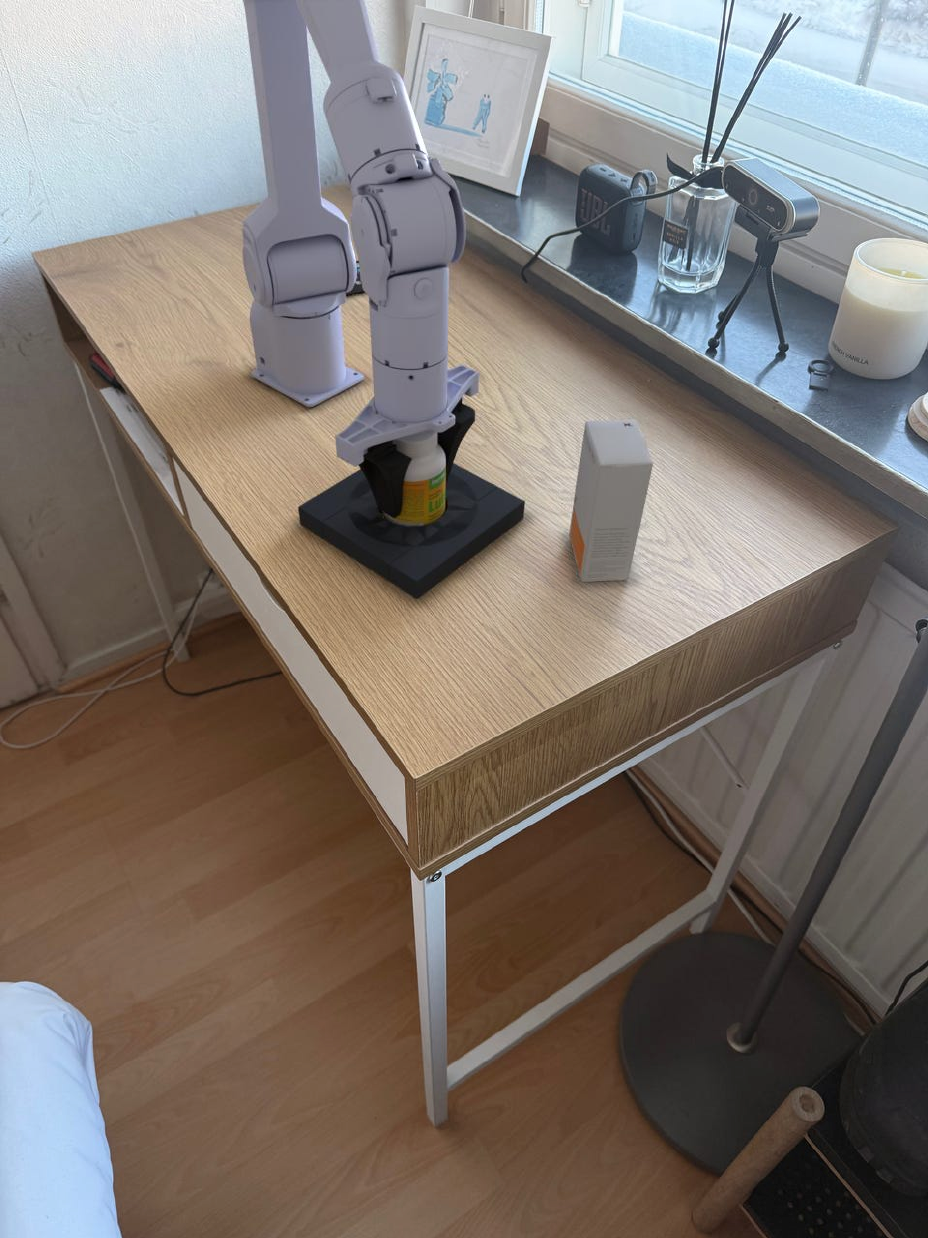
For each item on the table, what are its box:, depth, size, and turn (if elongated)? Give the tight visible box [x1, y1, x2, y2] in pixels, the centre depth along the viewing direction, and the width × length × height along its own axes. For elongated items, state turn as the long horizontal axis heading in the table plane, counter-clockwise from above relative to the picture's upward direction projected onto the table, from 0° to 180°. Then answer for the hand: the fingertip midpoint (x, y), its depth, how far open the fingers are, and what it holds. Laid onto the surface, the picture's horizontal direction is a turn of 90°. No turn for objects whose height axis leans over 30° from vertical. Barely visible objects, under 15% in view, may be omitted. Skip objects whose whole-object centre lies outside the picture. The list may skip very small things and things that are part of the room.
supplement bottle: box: [383, 430, 446, 527], centre depth 73 cm, size 5×5×10 cm
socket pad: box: [297, 462, 526, 600], centre depth 76 cm, size 14×14×2 cm
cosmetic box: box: [568, 419, 654, 583], centre depth 70 cm, size 6×4×12 cm
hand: (412, 495), depth 75 cm, fingers closed on supplement bottle, 5 cm apart
